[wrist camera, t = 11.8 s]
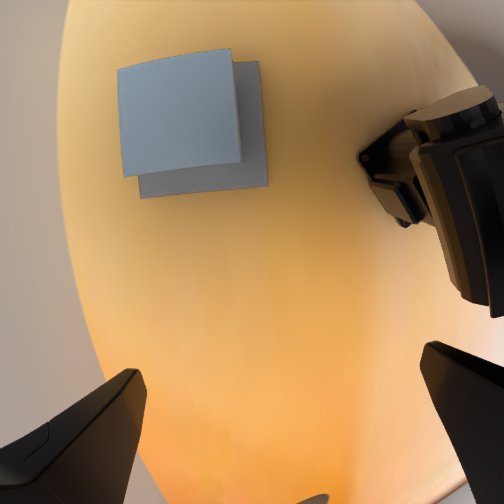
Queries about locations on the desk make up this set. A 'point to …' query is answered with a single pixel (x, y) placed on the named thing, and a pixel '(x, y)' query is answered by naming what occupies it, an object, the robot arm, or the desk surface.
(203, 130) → the pale blue cube
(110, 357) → the desk surface
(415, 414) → the desk surface
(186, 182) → the base plate
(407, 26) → the desk surface
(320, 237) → the desk surface
